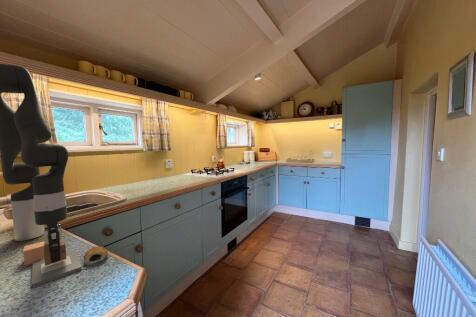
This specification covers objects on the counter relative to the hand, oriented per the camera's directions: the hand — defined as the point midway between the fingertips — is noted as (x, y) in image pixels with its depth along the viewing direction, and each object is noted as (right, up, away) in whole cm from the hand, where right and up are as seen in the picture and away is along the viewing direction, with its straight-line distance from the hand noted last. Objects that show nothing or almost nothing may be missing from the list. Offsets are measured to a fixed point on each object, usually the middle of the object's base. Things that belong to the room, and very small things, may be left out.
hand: (55, 257), depth 64 cm
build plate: (0, -3, 0) cm, 3 cm away
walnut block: (0, 0, 0) cm, 0 cm away
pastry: (+9, -3, +5) cm, 11 cm away
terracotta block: (-12, -3, +5) cm, 13 cm away
